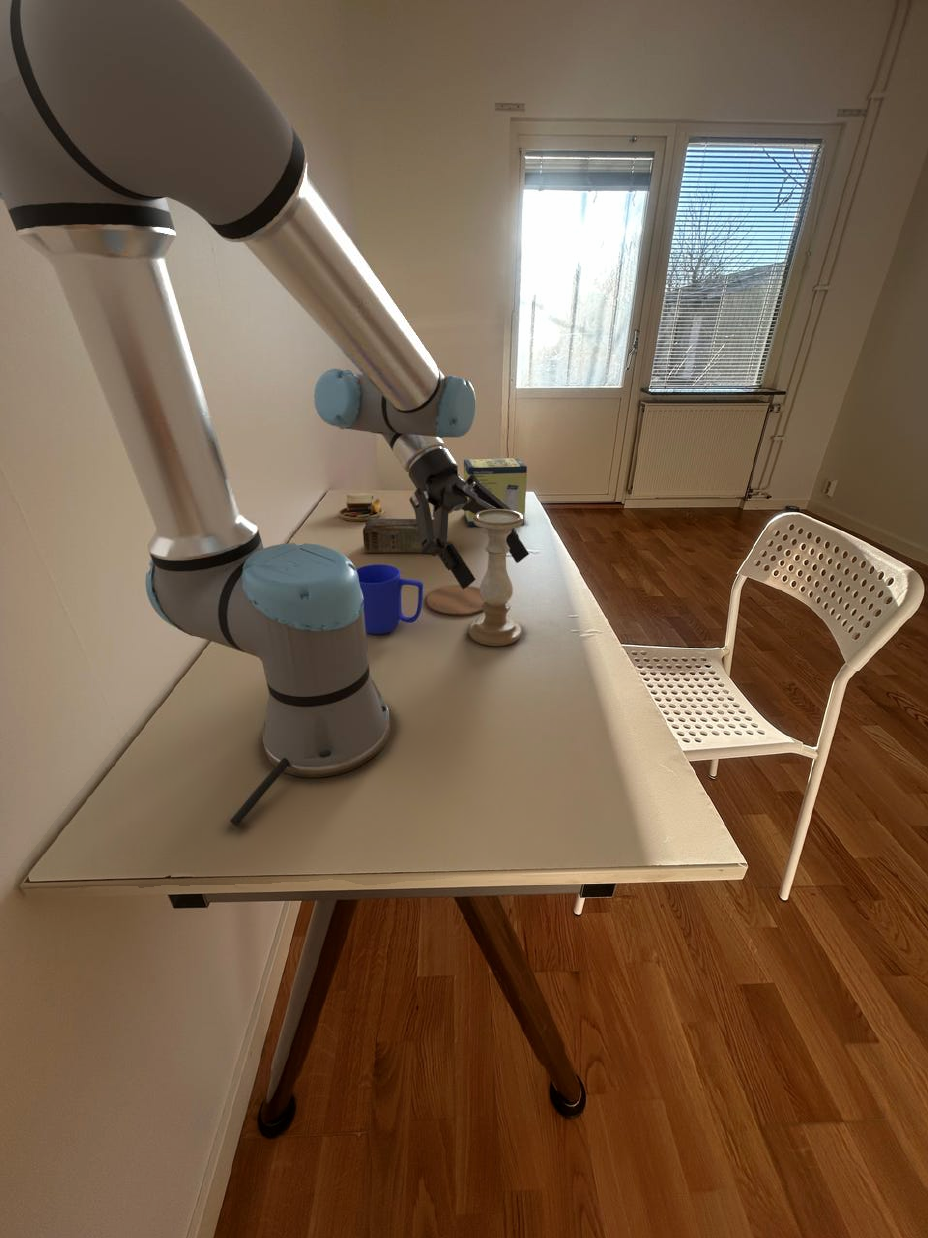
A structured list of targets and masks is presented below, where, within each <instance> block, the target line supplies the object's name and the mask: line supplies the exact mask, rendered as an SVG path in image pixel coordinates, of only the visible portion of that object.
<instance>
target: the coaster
mask: <svg viewBox="0 0 928 1238" xmlns="http://www.w3.org/2000/svg"><path fill="white" fill-rule="evenodd" d="M479 589H480V588H477V587H473V586H468V587H467V588H465V589H462V587H461V586H460V585H452V586H445V587H441V588H438V589H435V590H433V591H431V592H430V593H429V594H428V596H427V597H426V604H427V606H428V607H429V609H431V610H432V611H434V612H435V613H439V614H442V615H447V616H455V617H457V616H458V617H459V616H469V615H474V614H478V613H480V612H484V611H483V610H482V608H481V605H482V603H483V602H484V600H483V599H482V598H481V596H480V591H479Z"/></svg>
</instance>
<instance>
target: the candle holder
mask: <svg viewBox="0 0 928 1238" xmlns="http://www.w3.org/2000/svg"><path fill="white" fill-rule="evenodd" d="M473 522H474V524H475V525H477V526H476V527H479V528H481V529H483V531H484V533H485V534H486V535H487V537H488V542H487V544H486V546H485V547H484V550H485V551H486V552H487V555H488V558H487V559H488V560H487V569H486V571H485V574H484V576H483V579H482V580H481V583H480V585H479V588H478V589H479V591H480V596H481V598H482V599H483V600H484V602H483V603H482V605H481V608H482V610H483V611H482V612H483V613H484V614H482V615H480V616H478V617H477V618H476V619H474V620H473V621H471V623H469V627H468V634H469V637H470V638H471V639H472V640H473V641H474V642H476V643H478V644H480V645H485V646H489V647H503V646H508V645H512V644H513V643H516V642H517V641H518V640H519V639H520V638H521V636H522V627H521V625H520V624H519V622H518V621H516V620H515V619H514V618H513V617H511V616H510V615H507V613H508V612H509V611H510V610H511V604H510V603H509V601H510V600H512V597H513V595H514V587H513V582H512V580H511V578H510V576H509V574H508V570H507V553H510V552H509V550H510V547H509V546H508V544H507V542H506V539H507V537H508V535H509V534H510V533H511V532H512V529H513V528H514V529H516V528H520V527H521V526H523V525H522V524H523V522H524V523H525V518H523V516H522V514H520V513H518V512H516V511H512V510H506V509H489V510H483V511H480V512H477V513H476V514H475V515H474V517H473Z"/></svg>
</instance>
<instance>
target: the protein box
mask: <svg viewBox="0 0 928 1238" xmlns="http://www.w3.org/2000/svg"><path fill="white" fill-rule="evenodd" d="M527 473H528V466H527V465H526V464H524V463H523V462H522V460H521V459H520V458H519V457H517V458H516V457H514V458H510V457H509V458H486V459H485V458H484V459H483V458H482V459H463V480H466V479H467V478H468V477H469V476H470V475H471V474H474V475H475V476H476V477H477V478H478V480H479V481H480V482H481V484H482V485H484V486H485V487H486V488H487V489H488V490H489V491H491V492H492V493H493V494H494V495H495V496H496V497H498V498H499V499H500V500H501V501H502V502H503V503H505V504H506V505H507V506H508V507H509V508H511V509H512V510H513V511H516V512H518V513H520V514H522V516H523V518H524V519H525V515H526V495H527ZM468 499H469V498H468V497H467V501H468ZM463 511H464V510H463ZM463 514H464V515H463V516H464V518H465V521H466V524H467V527H470V528H471V527H472V528H473V527H478V526H477V525H475V524H474V522H473V517H474V515H475V514H474V513H472V512H470V511H464V512H463ZM524 525H525V521H524V522H523V524H522V525H521V526H524Z"/></svg>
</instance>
